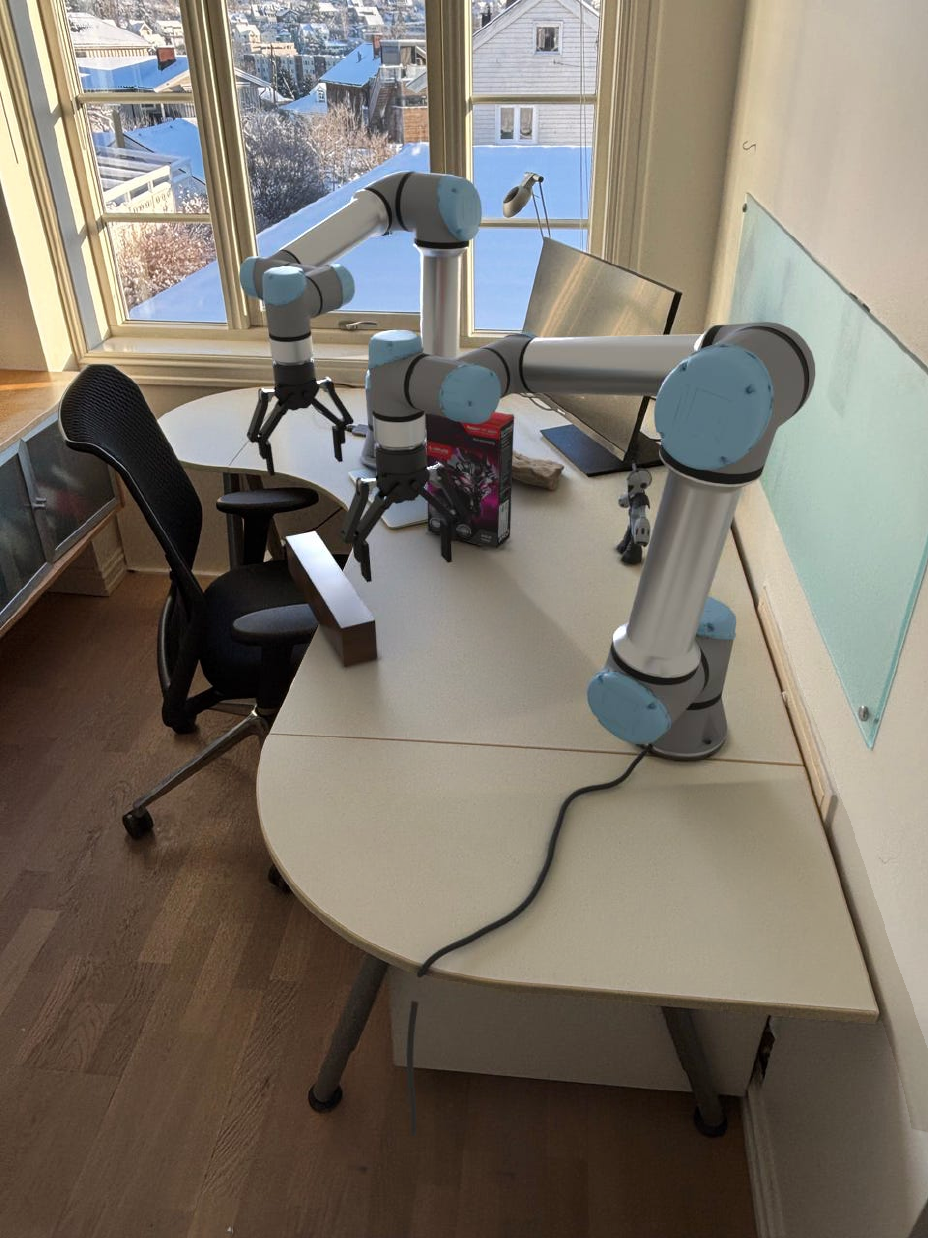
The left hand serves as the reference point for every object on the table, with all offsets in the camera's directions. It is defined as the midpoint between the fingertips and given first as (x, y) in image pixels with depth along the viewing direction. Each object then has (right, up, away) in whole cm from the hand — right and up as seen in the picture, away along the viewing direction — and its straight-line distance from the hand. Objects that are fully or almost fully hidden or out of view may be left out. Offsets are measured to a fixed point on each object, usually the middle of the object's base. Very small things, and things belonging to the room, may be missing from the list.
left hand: (305, 466), depth 179 cm
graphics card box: (+32, -12, +16) cm, 38 cm away
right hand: (+22, -22, -33) cm, 45 cm away
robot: (+65, -17, +9) cm, 67 cm away
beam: (+6, -29, -9) cm, 30 cm away
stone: (+43, +4, +40) cm, 59 cm away
